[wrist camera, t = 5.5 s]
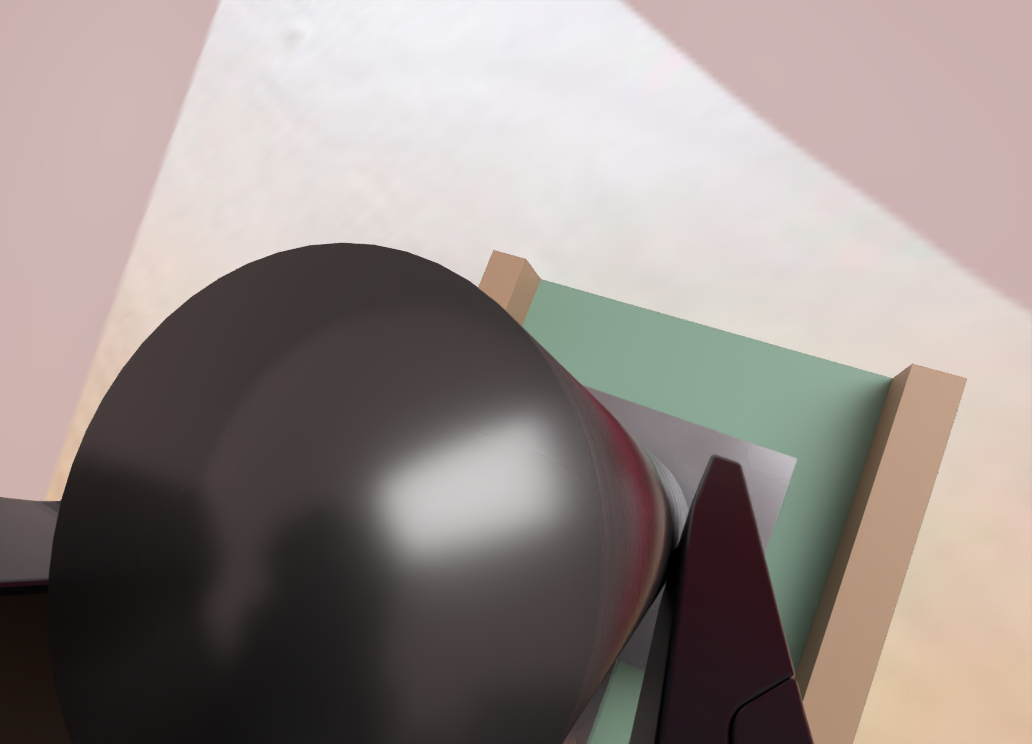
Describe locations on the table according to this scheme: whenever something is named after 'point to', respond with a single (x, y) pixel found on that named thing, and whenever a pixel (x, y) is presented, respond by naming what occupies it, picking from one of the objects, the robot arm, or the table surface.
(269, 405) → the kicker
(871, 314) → the table surface
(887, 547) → the pitch
